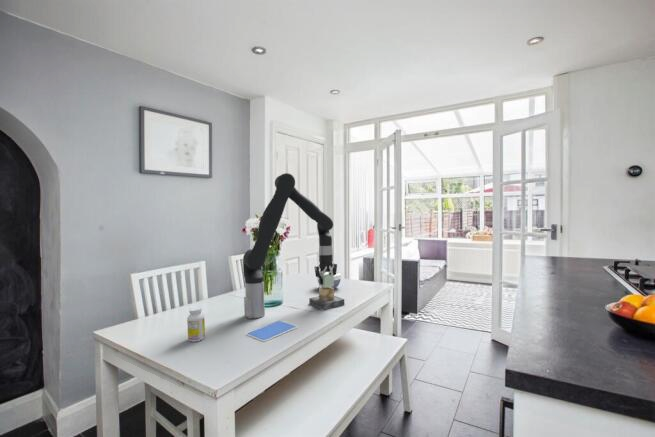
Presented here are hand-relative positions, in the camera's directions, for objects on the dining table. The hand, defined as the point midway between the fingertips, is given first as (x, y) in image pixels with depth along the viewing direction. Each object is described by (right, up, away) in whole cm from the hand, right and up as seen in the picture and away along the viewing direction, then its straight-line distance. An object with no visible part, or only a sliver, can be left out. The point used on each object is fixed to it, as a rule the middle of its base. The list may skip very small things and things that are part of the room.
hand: (326, 283), depth 179 cm
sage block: (0, -1, 0) cm, 1 cm away
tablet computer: (-24, -14, -37) cm, 46 cm away
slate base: (0, -11, +1) cm, 12 cm away
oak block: (0, -8, 0) cm, 9 cm away
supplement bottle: (-54, -15, -44) cm, 71 cm away
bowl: (+2, -10, +35) cm, 36 cm away
